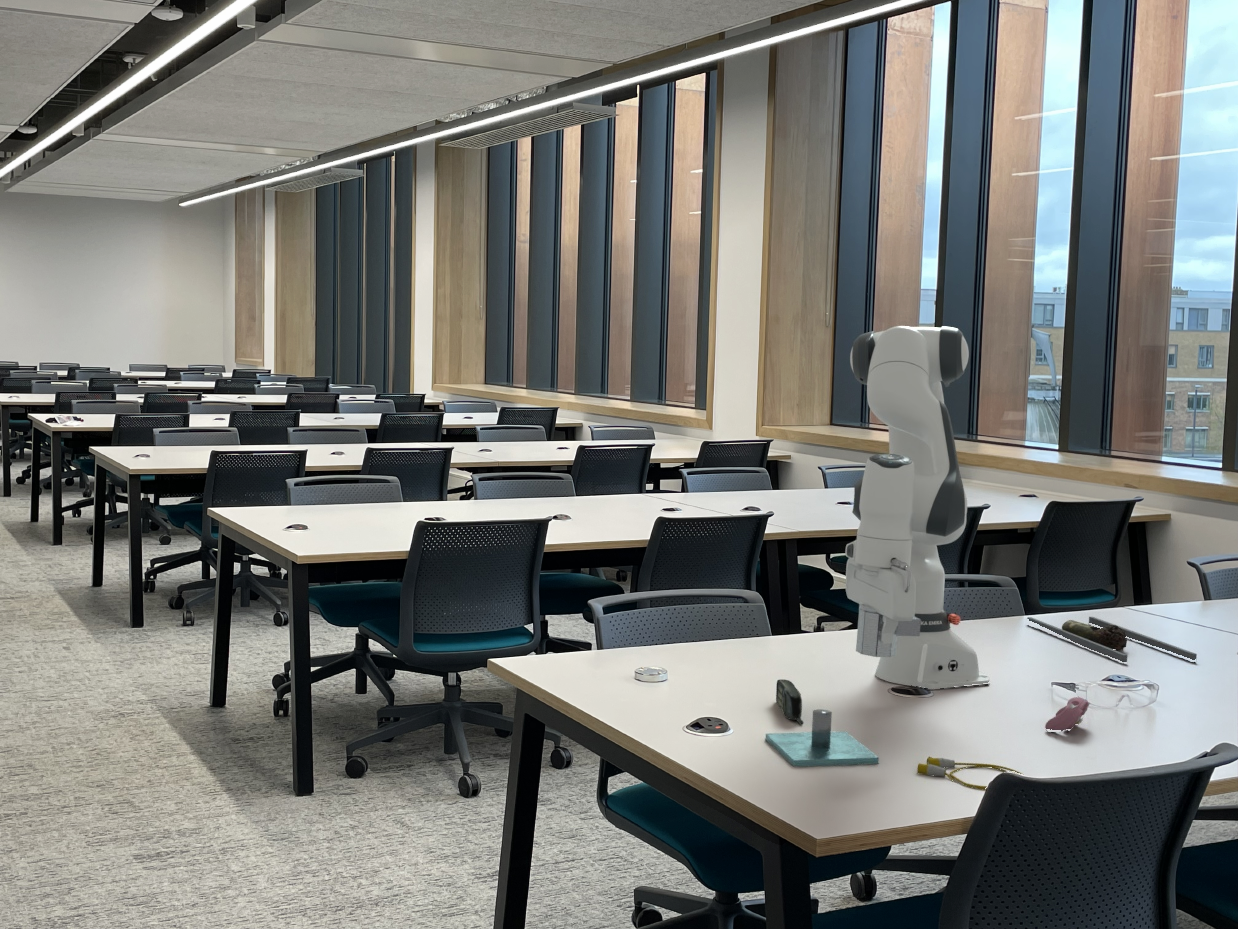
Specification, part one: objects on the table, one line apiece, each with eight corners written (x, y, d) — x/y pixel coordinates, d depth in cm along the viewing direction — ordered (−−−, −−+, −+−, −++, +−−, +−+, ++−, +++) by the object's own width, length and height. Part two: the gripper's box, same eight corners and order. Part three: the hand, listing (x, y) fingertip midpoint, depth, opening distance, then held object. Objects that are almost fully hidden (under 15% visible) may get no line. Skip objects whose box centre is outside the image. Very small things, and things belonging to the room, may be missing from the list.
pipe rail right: (1092, 624, 312) (1092, 616, 311) (1196, 662, 273) (1196, 654, 272) (1088, 624, 311) (1089, 616, 311) (1192, 663, 272) (1192, 654, 272)
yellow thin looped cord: (950, 758, 200) (950, 746, 200) (1041, 784, 189) (1042, 771, 189) (908, 774, 192) (908, 761, 192) (1001, 801, 181) (1001, 788, 181)
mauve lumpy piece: (1065, 745, 213) (1086, 713, 211) (1041, 729, 215) (1062, 697, 213) (1077, 732, 222) (1097, 700, 220) (1054, 716, 224) (1074, 685, 222)
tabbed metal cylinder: (906, 649, 208) (910, 604, 207) (922, 657, 202) (926, 611, 201) (851, 648, 206) (855, 603, 205) (865, 656, 200) (869, 610, 199)
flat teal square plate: (844, 737, 209) (846, 699, 208) (878, 763, 195) (880, 723, 194) (765, 739, 206) (767, 701, 205) (793, 766, 192) (795, 725, 192)
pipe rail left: (1030, 625, 308) (1031, 617, 308) (1126, 664, 269) (1127, 655, 269) (1026, 625, 308) (1027, 617, 308) (1122, 664, 269) (1123, 655, 269)
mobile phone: (774, 677, 229) (791, 696, 214) (790, 677, 229) (808, 697, 214) (773, 703, 229) (790, 725, 214) (789, 703, 230) (807, 725, 215)
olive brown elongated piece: (1059, 638, 295) (1061, 615, 295) (1082, 637, 297) (1084, 614, 297) (1113, 655, 279) (1115, 630, 278) (1137, 654, 281) (1138, 629, 280)
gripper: (929, 565, 192) (922, 652, 193) (876, 545, 212) (869, 625, 213) (891, 563, 191) (884, 651, 192) (841, 544, 211) (835, 624, 212)
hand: (876, 637), depth 203 cm, fingers closed on tabbed metal cylinder, 6 cm apart
